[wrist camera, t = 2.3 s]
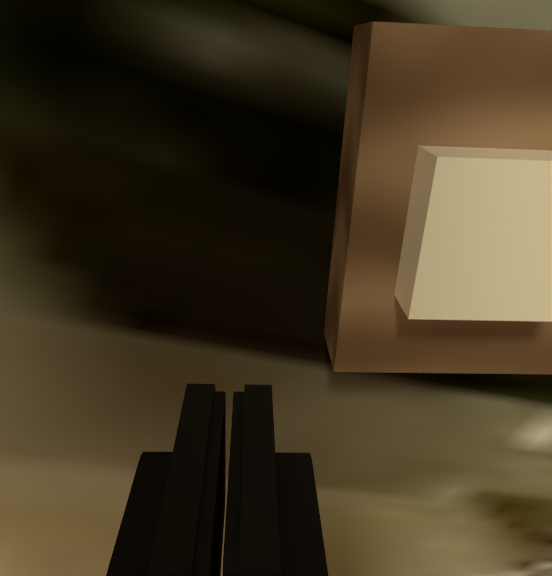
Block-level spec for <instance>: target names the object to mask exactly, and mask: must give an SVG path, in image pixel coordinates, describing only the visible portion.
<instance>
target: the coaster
mask: <svg viewBox="0 0 552 576" xmlns="http://www.w3.org/2000/svg"><path fill="white" fill-rule="evenodd" d="M394 295H395V297H396V299H397V300H398V302H399V304H400V306H401V307H402V309H403V311H404V313H405V314H406V316H407V318H408V319H429V320H487V321H546V322H552V151H550V150H523V149H496V148H470V147H443V146H418V151H417V157H416V163H415V169H414V176H413V182H412V188H411V194H410V200H409V207H408V213H407V219H406V225H405V231H404V238H403V244H402V250H401V256H400V262H399V269H398V275H397V281H396V287H395V293H394Z"/></svg>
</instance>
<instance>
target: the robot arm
mask: <svg viewBox="0 0 552 576" xmlns="http://www.w3.org/2000/svg"><path fill="white" fill-rule="evenodd" d="M224 513H225V392H215V384H187V387H186V391H185V396H184V401H183V406H182V410H181V415H180V420H179V425H178V430H177V435H176V439H175V444H174V449H173V452H143V453H142V455H141V457H140V460H139V463H138V466H137V470H136V473H135V477H134V480H133V484H132V487H131V491H130V494H129V498H128V501H127V505H126V508H125V512H124V515H123V519H122V522H121V526H120V529H119V533H118V536H117V540H116V543H115V547H114V550H113V554H112V557H111V561H110V564H109V568H108V571H107V575H106V576H220V573H221V558H222V543H223V528H224ZM223 576H328V571H327V564H326V557H325V549H324V542H323V535H322V528H321V521H320V514H319V507H318V500H317V493H316V486H315V479H314V472H313V464H312V459H311V455H310V453H275V441H274V421H273V401H272V385H245V392H234V396H233V412H232V428H231V444H230V460H229V476H228V492H227V508H226V524H225V540H224V557H223Z"/></svg>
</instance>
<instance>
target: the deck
mask: <svg viewBox="0 0 552 576" xmlns="http://www.w3.org/2000/svg"><path fill="white" fill-rule="evenodd" d="M418 146H443V147H470V148H496V149H523V150H550V151H552V31H546V30H527V29H508V28H488V27H469V26H450V25H430V24H411V23H392V22H369V23H364V24H360V25H355V26H354V30H353V40H352V50H351V60H350V71H349V81H348V91H347V101H346V111H345V122H344V132H343V142H342V152H341V163H340V173H339V183H338V193H337V204H336V214H335V224H334V234H333V244H332V255H331V265H330V275H329V285H328V296H327V306H326V316H325V326H324V335H325V339H326V343H327V347H328V350H329V354H330V358H331V362H332V366H333V370H334V372H382V373H474V374H552V322H546V321H487V320H429V319H408V318H407V316H406V314H405V313H404V311H403V309H402V307H401V306H400V304H399V302H398V300H397V299H396V297H395V295H394V293H395V287H396V281H397V275H398V269H399V262H400V256H401V250H402V244H403V238H404V231H405V225H406V219H407V213H408V207H409V200H410V194H411V188H412V182H413V176H414V169H415V163H416V157H417V151H418Z"/></svg>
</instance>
